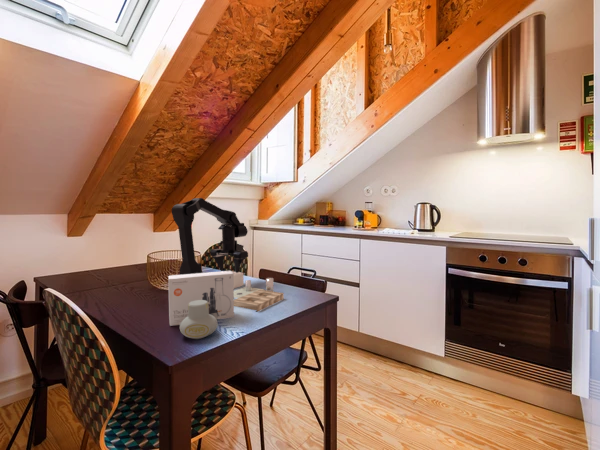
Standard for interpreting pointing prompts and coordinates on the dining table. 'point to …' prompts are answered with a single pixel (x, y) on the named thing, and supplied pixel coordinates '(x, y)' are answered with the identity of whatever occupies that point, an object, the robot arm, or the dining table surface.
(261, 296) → the hole board
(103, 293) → the dining table surface
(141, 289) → the dining table surface
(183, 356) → the dining table surface
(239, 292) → the plate
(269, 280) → the pin
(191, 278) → the skincare box
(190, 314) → the air freshener
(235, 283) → the white rectangular block
